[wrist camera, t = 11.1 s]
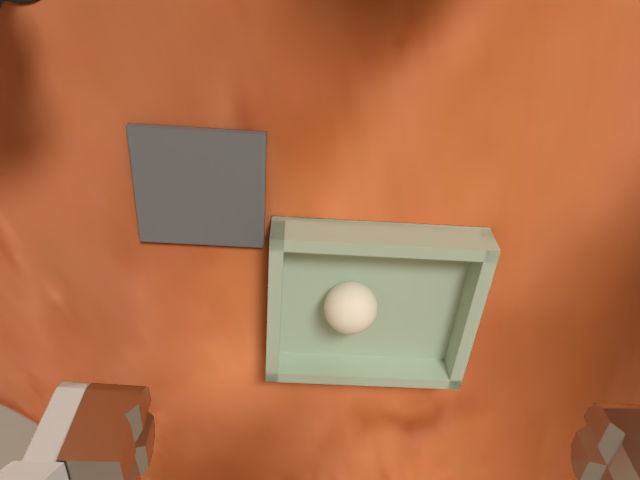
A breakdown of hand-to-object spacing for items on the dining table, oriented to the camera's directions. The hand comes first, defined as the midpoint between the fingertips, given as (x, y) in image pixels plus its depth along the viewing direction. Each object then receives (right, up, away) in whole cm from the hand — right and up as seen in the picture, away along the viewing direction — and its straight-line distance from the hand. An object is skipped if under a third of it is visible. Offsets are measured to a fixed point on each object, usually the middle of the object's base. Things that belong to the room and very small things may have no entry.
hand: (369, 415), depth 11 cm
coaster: (-9, +7, +30) cm, 32 cm away
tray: (+3, -1, +36) cm, 36 cm away
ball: (+2, -1, +34) cm, 35 cm away
